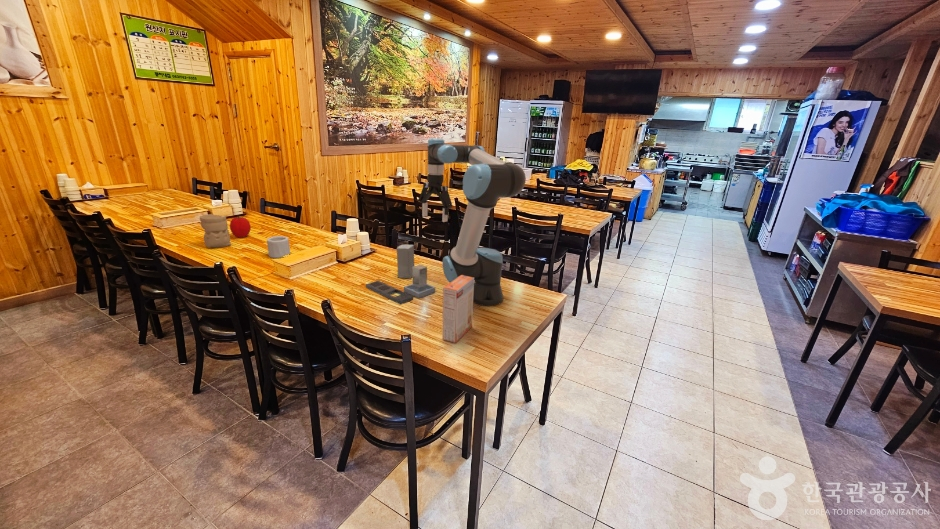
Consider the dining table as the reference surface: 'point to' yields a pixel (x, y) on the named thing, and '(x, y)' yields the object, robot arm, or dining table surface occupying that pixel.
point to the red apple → (240, 227)
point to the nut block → (419, 278)
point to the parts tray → (429, 291)
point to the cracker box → (457, 308)
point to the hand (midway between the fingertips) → (434, 218)
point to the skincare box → (405, 261)
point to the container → (215, 230)
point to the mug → (278, 246)
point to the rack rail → (389, 292)
